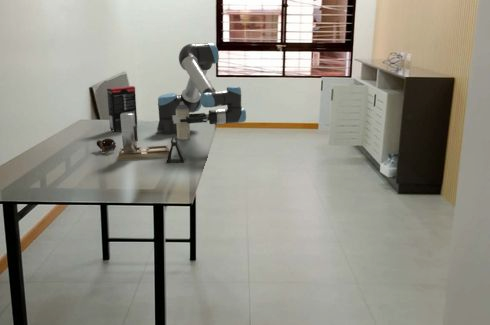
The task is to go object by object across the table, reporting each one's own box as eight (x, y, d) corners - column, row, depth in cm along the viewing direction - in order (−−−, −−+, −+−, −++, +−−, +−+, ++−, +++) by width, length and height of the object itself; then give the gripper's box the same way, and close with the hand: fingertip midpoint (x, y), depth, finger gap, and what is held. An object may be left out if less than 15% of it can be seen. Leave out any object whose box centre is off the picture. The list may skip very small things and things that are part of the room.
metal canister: (123, 151, 273) (120, 113, 268) (138, 150, 274) (135, 112, 269) (123, 154, 266) (119, 115, 261) (138, 153, 268) (135, 114, 262)
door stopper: (185, 159, 264) (183, 136, 261) (184, 162, 258) (182, 139, 255) (167, 160, 263) (165, 136, 260) (166, 163, 258) (164, 139, 254)
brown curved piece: (120, 150, 288) (119, 139, 282) (111, 161, 281) (110, 150, 275) (101, 143, 290) (99, 133, 284) (92, 155, 283) (90, 144, 277)
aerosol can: (190, 137, 281) (188, 100, 275) (190, 140, 274) (188, 102, 269) (177, 138, 280) (175, 101, 274) (177, 141, 273) (174, 103, 268)
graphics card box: (133, 126, 346) (129, 85, 339) (138, 128, 341) (135, 86, 334) (109, 130, 335) (105, 88, 328) (115, 132, 330) (111, 89, 323)
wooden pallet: (119, 155, 275) (118, 148, 274) (169, 151, 280) (168, 145, 279) (118, 160, 265) (118, 153, 264) (170, 156, 269) (170, 150, 268)
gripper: (219, 127, 269) (174, 130, 265) (214, 120, 288) (172, 122, 283) (219, 113, 267) (173, 115, 263) (213, 106, 286) (171, 109, 281)
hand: (173, 119), depth 273 cm, fingers closed on aerosol can, 7 cm apart
